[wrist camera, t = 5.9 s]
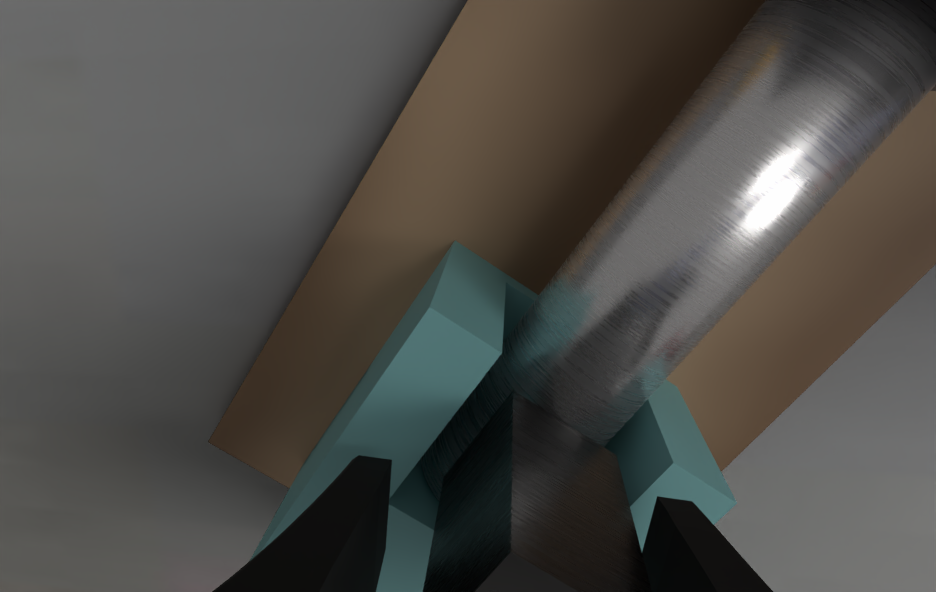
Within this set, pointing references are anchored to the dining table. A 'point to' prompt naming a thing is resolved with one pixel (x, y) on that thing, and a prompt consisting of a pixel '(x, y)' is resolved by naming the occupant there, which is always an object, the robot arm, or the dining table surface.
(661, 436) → the teal cradle
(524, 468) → the silver elongated piece
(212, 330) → the dining table surface
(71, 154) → the dining table surface
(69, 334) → the dining table surface
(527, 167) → the walnut board
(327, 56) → the dining table surface
